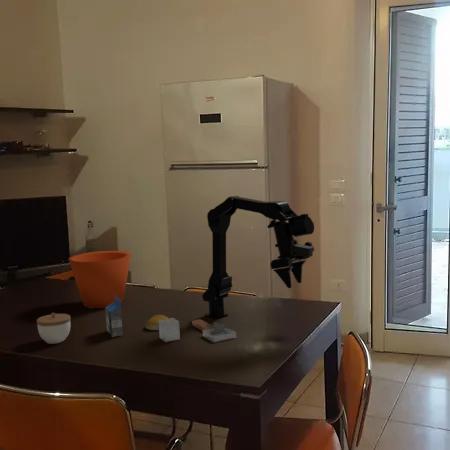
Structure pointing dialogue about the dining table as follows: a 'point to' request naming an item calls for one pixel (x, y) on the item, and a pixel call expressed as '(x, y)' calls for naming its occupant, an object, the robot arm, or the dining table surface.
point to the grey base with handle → (214, 330)
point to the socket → (169, 329)
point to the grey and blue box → (114, 318)
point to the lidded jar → (54, 327)
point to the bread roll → (155, 322)
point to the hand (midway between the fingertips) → (294, 285)
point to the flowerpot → (101, 276)
